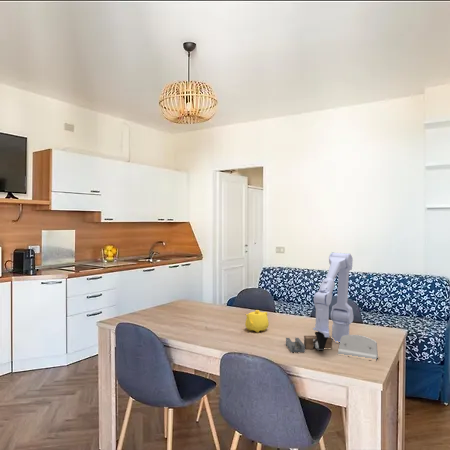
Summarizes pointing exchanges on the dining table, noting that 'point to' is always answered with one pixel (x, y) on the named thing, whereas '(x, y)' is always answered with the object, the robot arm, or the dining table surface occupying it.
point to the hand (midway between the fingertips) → (321, 348)
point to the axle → (316, 344)
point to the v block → (295, 345)
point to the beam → (309, 342)
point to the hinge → (358, 346)
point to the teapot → (257, 321)
